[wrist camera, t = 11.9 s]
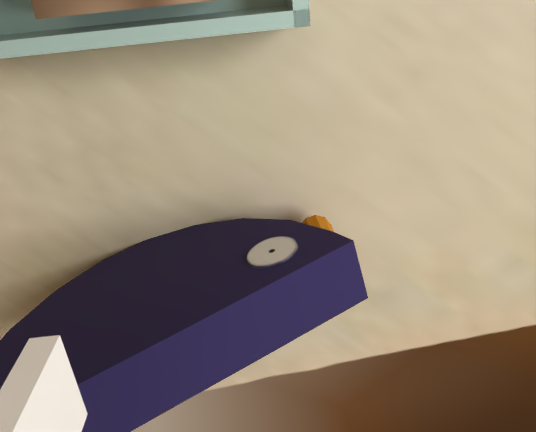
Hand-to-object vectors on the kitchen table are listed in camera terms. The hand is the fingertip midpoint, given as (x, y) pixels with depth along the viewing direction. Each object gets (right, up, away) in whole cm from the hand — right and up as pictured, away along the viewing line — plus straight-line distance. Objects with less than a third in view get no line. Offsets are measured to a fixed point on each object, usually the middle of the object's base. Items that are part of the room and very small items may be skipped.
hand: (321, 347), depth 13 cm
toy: (-8, 0, +32) cm, 33 cm away
